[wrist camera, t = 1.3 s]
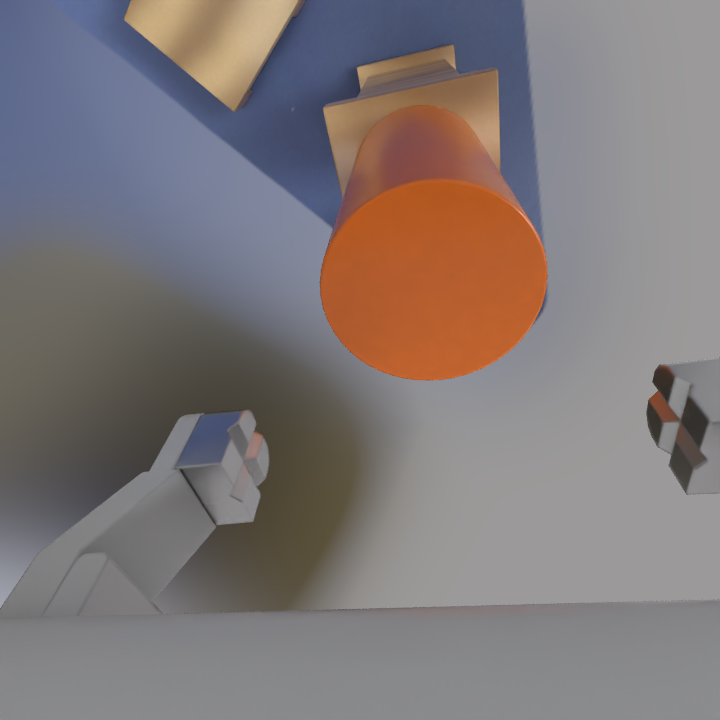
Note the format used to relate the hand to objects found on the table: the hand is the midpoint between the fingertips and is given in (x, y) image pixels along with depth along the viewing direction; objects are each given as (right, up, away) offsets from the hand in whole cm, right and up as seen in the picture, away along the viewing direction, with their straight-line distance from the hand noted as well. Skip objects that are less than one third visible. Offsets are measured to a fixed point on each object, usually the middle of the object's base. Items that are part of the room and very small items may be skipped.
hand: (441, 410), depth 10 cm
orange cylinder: (+1, +10, +14) cm, 17 cm away
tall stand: (+3, +23, +31) cm, 39 cm away
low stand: (-13, +30, +28) cm, 43 cm away
